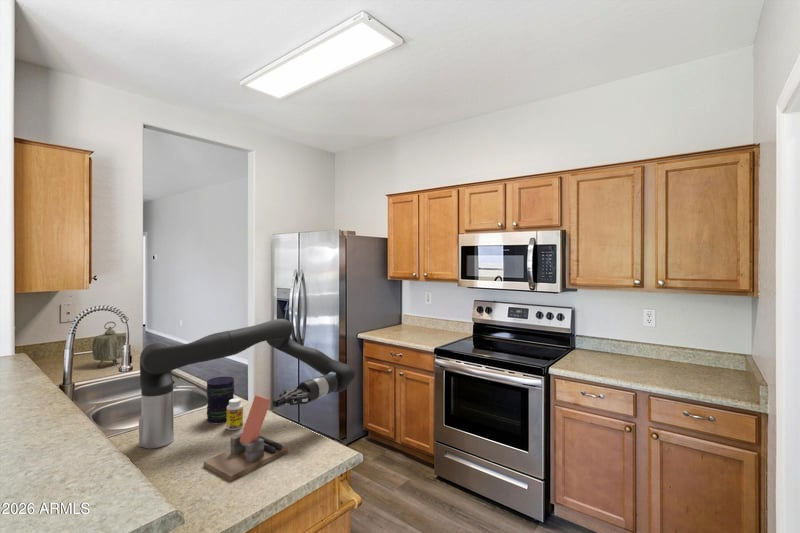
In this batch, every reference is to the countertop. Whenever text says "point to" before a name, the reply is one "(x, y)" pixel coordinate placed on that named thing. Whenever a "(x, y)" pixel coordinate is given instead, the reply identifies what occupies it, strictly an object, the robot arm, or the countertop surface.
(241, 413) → the supplement bottle
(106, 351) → the tabletop clock
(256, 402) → the lever
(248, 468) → the switch board
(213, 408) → the storage jar
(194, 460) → the countertop surface
